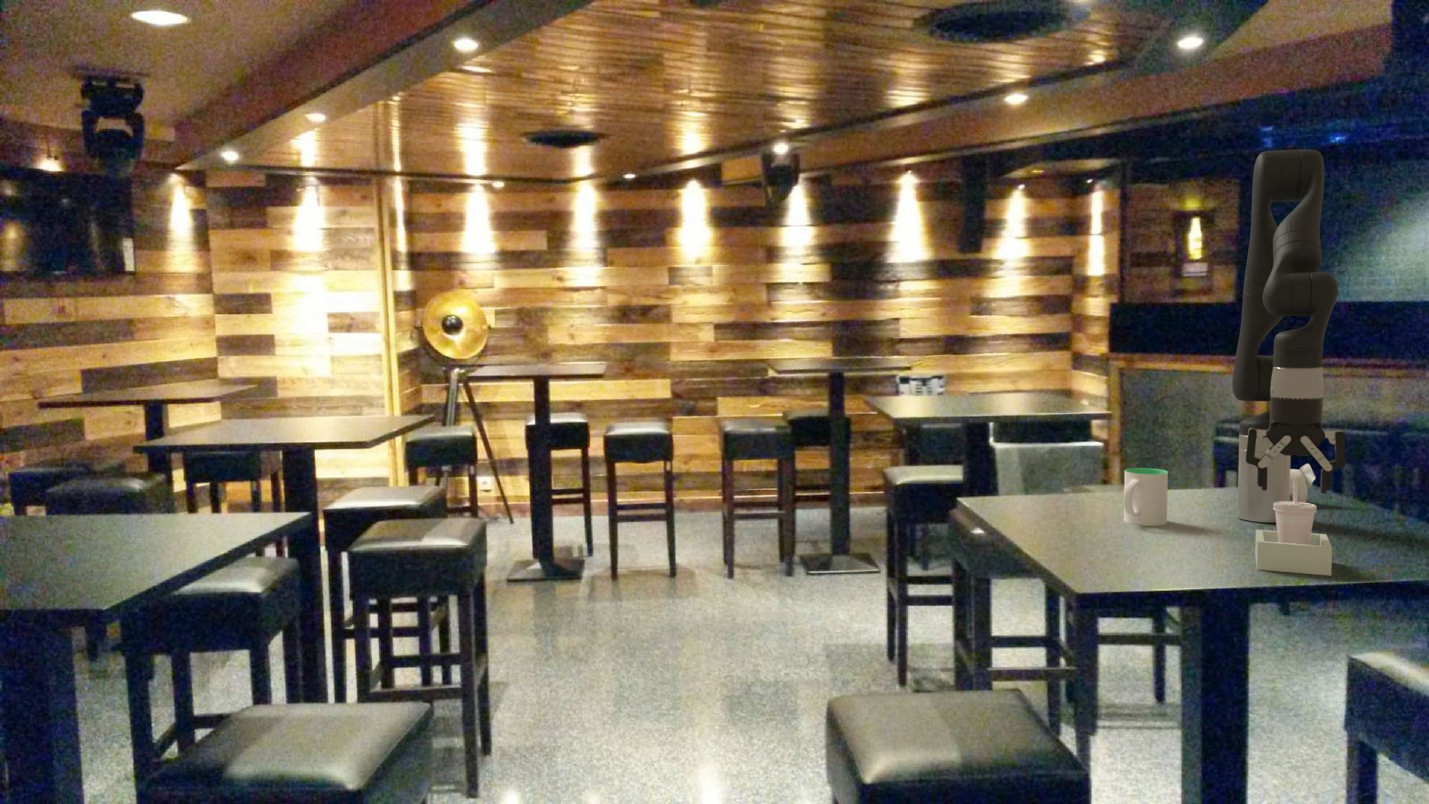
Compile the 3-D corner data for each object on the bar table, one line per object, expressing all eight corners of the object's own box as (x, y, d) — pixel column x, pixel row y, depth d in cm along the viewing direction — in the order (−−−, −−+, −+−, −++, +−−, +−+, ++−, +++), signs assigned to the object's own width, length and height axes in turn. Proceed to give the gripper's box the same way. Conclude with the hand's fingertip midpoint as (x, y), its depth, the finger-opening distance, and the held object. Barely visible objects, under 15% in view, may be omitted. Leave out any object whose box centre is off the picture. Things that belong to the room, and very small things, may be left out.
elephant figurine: (1296, 498, 228) (1297, 459, 227) (1320, 508, 216) (1321, 467, 215) (1251, 497, 229) (1252, 459, 228) (1272, 507, 217) (1273, 466, 216)
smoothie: (1316, 559, 170) (1319, 477, 169) (1314, 568, 165) (1317, 483, 163) (1272, 555, 173) (1275, 474, 172) (1269, 563, 168) (1271, 480, 167)
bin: (1255, 555, 176) (1255, 529, 176) (1325, 560, 171) (1326, 534, 171) (1257, 569, 167) (1257, 542, 166) (1331, 575, 162) (1332, 547, 162)
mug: (1149, 530, 197) (1150, 478, 196) (1109, 525, 203) (1109, 474, 202) (1173, 521, 206) (1174, 470, 205) (1133, 516, 211) (1134, 466, 210)
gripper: (1344, 393, 167) (1341, 490, 168) (1247, 391, 173) (1244, 484, 175) (1349, 397, 160) (1345, 498, 162) (1248, 395, 166) (1245, 492, 168)
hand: (1293, 491), depth 168 cm, fingers open, 8 cm apart
